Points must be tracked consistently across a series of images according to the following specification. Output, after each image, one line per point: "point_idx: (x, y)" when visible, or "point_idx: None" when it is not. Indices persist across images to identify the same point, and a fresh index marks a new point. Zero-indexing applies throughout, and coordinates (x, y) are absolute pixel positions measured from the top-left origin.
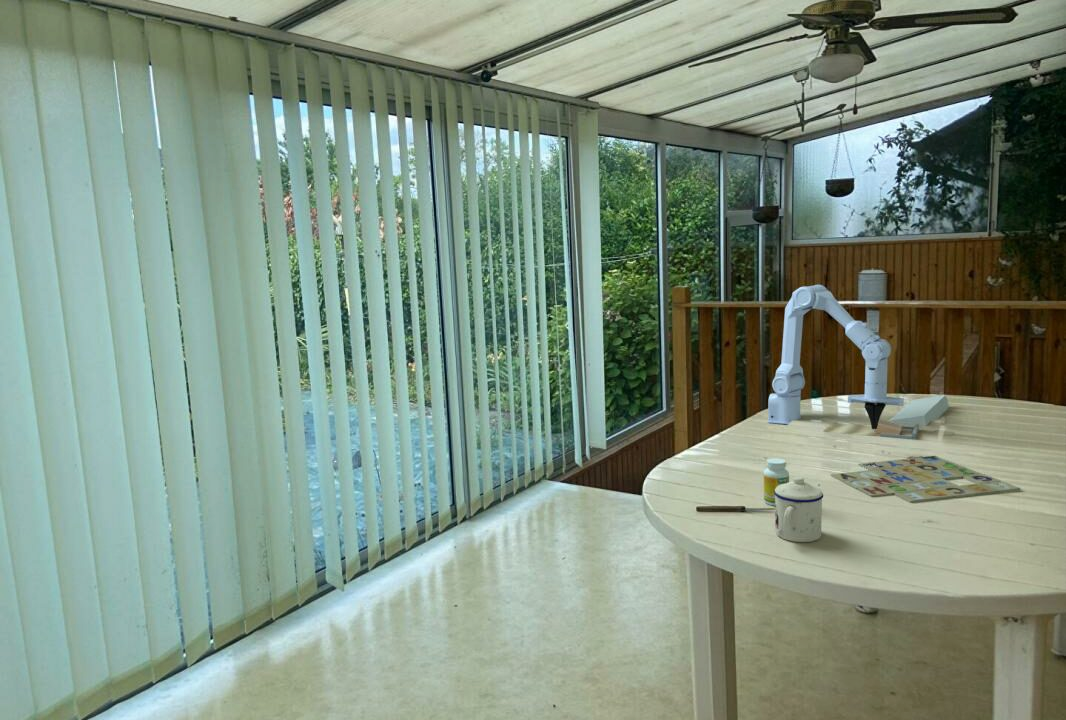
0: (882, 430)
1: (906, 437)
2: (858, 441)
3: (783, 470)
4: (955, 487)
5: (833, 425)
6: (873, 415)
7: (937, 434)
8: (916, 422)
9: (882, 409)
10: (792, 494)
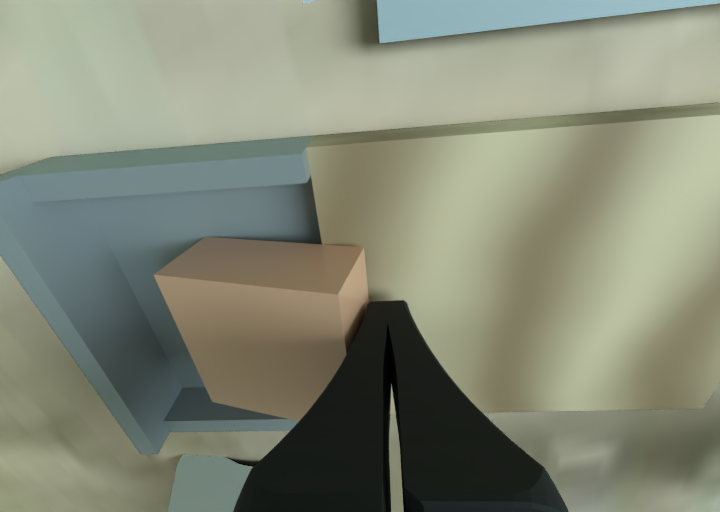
0: (305, 262)
1: (71, 169)
2: (486, 54)
3: None
4: None
5: (702, 344)
6: (398, 392)
7: (110, 419)
8: (214, 497)
9: (254, 475)
10: None
